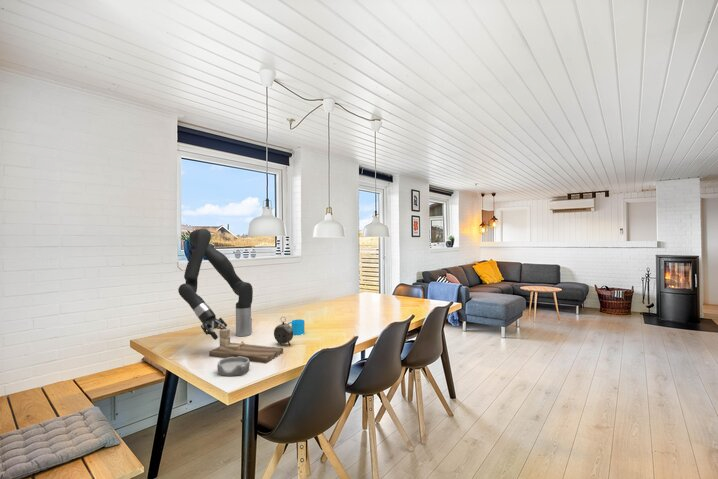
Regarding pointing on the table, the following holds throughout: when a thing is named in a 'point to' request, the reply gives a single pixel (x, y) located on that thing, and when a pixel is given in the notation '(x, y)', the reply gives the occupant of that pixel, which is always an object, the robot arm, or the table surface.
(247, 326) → the robot arm
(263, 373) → the table surface
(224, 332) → the marking gauge
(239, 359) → the dish
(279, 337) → the alarm clock
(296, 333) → the mug
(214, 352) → the walnut board
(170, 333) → the table surface
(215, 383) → the table surface
